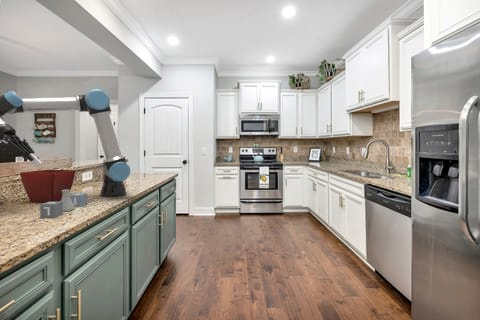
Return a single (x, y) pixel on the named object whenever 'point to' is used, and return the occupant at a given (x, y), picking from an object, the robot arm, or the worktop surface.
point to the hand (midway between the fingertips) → (39, 165)
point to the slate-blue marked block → (79, 199)
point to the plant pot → (47, 184)
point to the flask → (67, 201)
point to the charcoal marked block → (51, 209)
